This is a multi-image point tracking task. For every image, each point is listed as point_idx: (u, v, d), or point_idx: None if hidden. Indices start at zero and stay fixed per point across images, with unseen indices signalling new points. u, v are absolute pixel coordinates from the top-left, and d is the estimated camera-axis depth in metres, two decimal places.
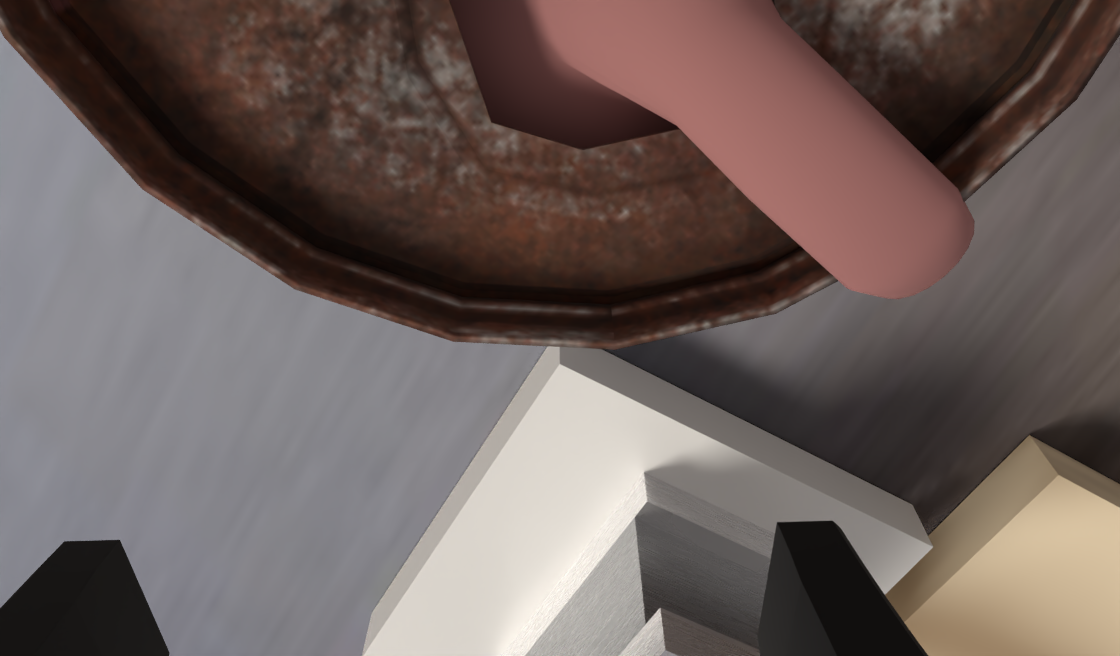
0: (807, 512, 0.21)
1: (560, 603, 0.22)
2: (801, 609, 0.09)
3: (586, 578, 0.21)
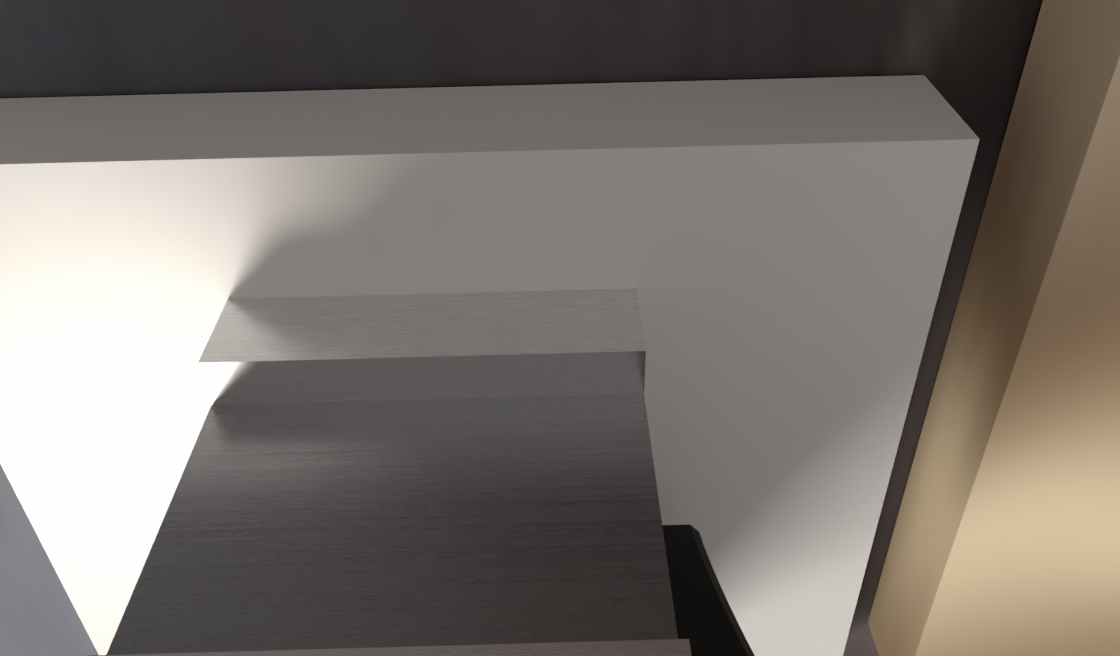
0: (623, 210, 0.09)
1: None
2: None
3: None
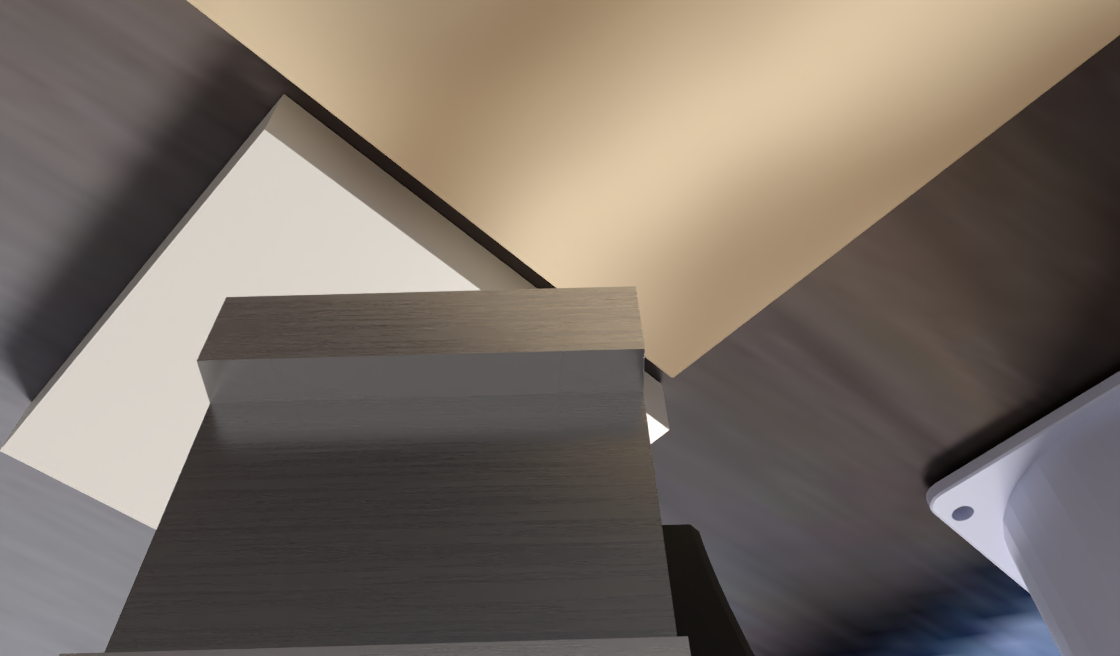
0: (199, 266, 0.17)
1: None
2: None
3: None
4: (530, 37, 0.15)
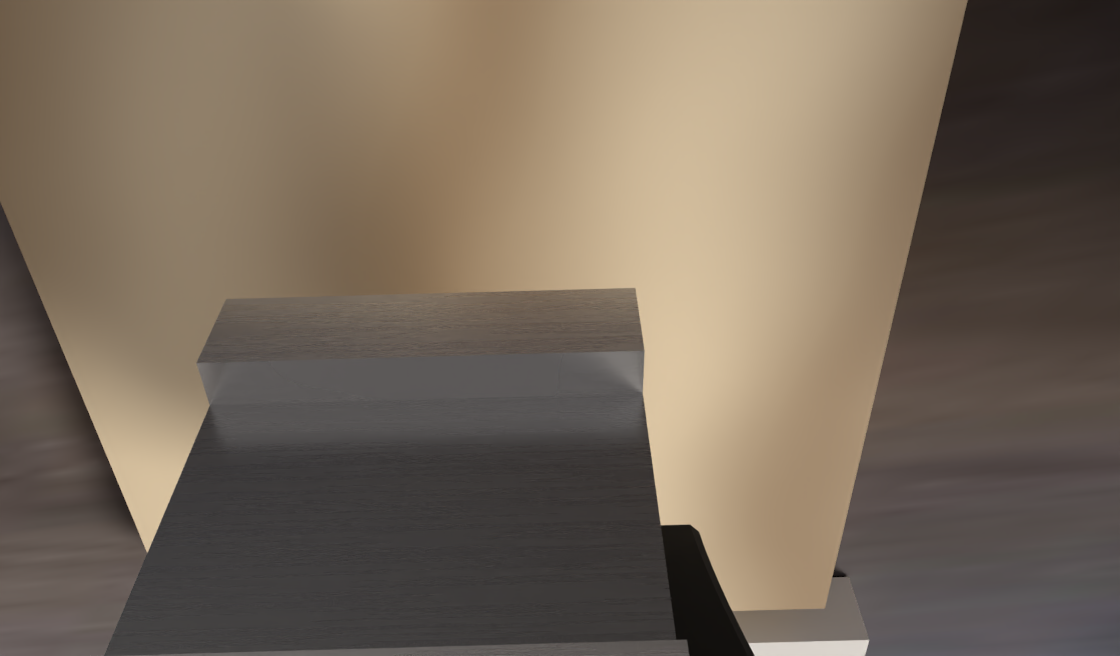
0: None
1: None
2: None
3: None
4: None
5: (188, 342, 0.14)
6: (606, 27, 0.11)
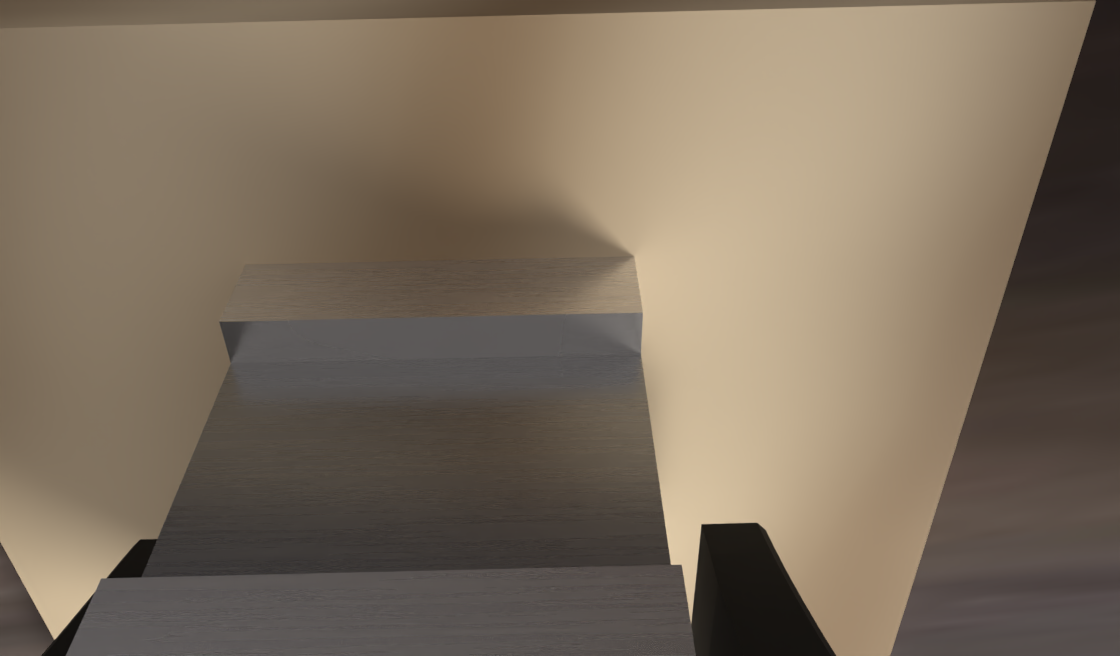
0: None
1: None
2: (718, 611, 0.09)
3: None
4: None
5: (119, 477, 0.12)
6: (618, 124, 0.09)
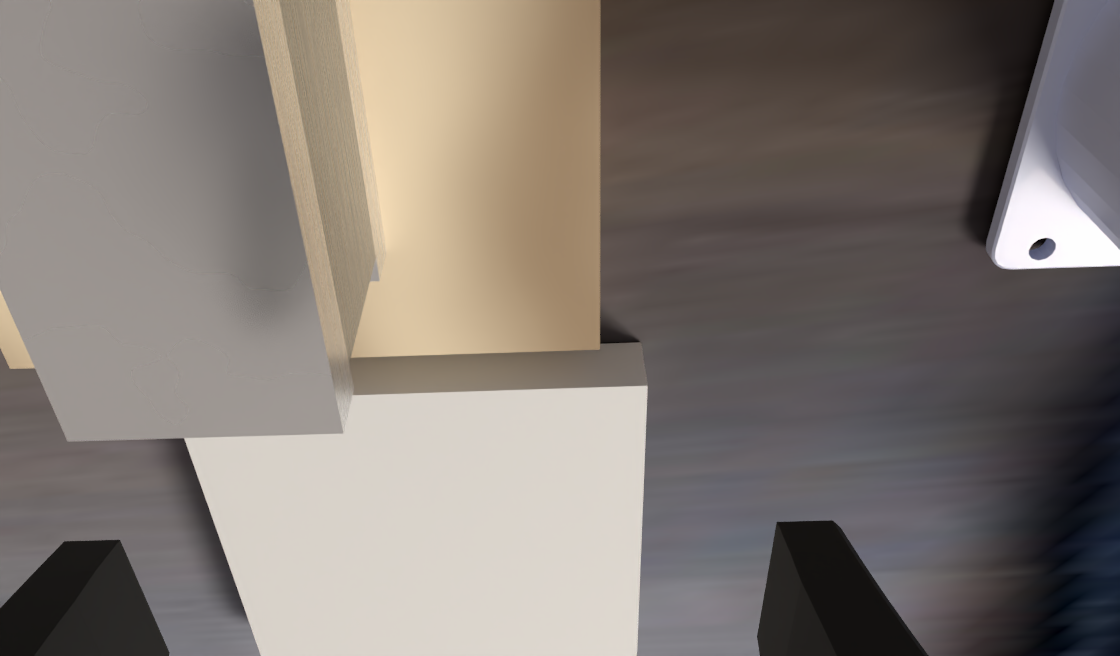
0: (236, 503, 0.22)
1: None
2: (801, 609, 0.09)
3: None
4: None
5: None
6: None
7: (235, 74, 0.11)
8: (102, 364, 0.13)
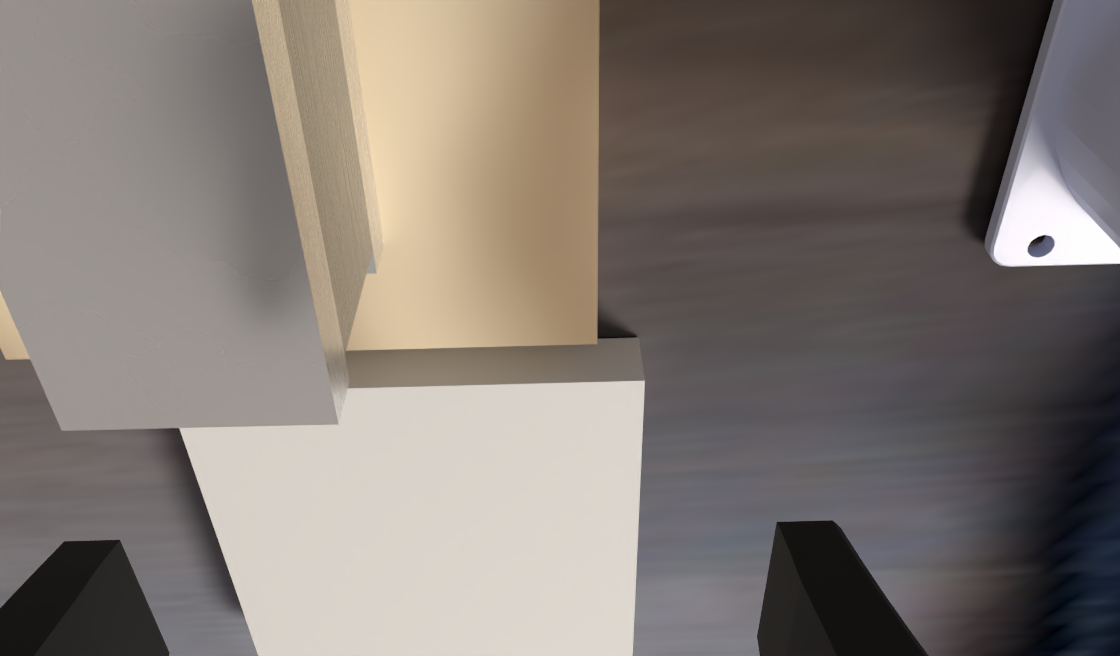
0: (231, 496, 0.22)
1: None
2: (801, 609, 0.09)
3: None
4: None
5: None
6: None
7: (230, 61, 0.10)
8: (96, 353, 0.13)
